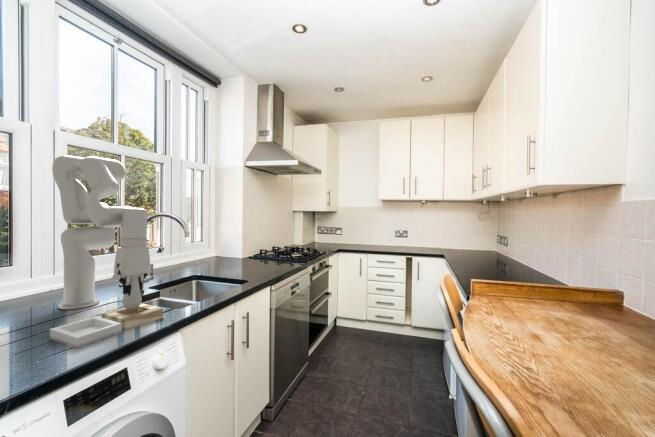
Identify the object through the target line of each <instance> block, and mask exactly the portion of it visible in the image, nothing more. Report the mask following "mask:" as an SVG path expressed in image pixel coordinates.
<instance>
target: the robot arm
mask: <svg viewBox="0 0 655 437" xmlns="http://www.w3.org/2000/svg"><path fill="white" fill-rule="evenodd" d="M51 167H52V168H51V169H52V170H51V171H52V176H53V179H54V182H55V184H56V185H57V187H58V189H59V190H58V191H59V194H60V196H59V197H60V204H61V210H62V216H63V219H64V221H65V222H66V223H67V224H70V225H95V226H76V227H68V228H67V229H66V228H65V230H64V231H63V232H61V235H60V243H61V247H62V254H63V294H62V298H63V301H61V302H60V303H59V304H58V305H57V308H58V309H60V310H67V311H68V310H69V311H70V310H77V309H79V310H80V309H85V308H88V307H92V306H95V305H97V304H99V303H100V298H98V297H95V294H96V293H95V292H96V291H95V290H96V289H95V288H96V287H95V286H96V283H95V282H96V281H95V280H96V261H95V258H94V256H93V255H92V254H91V253H90V252H89V251H90V250H91V251H92V250H100V249H109V248H112V246H114V244H115V243H116V231H115V228H120V246H118V247H117V249H116V253H115V258H114V265H113V275H112V277H111V279H112V280H114V281H117V282H119V283H120V284H121V285H122V294H123V296H124V294H127V293H128V296H130V294H131V285H130V277H131V276H132V275H135V274H136V273H138V274H140V277H138V279H139V287H140V292H141V294H142V291H143V283H144V281H145V280H146V278H147V277H148V275H150V274H152V268H151V267H150V266H151V257H150V256H151V255H150V250H149V246H148V245H147V243H149V242H150V239H149V238H148V237H147V233H148V232H147V231H148V211H147V210H146V208H144V207H143V208H141V207H133V206H118V205H117V206H116V205H108V204H107V203H105V202H102V201H101V200H103V199H107V198H110V197H112V196H114V195H115V194H117V192H118V191H119V189H120V188H119V187H120V186H119V181H122V180H123V179H124V178H125V176H126V168H125V166H124V165H123V163H122V162H120V161H119V160H116V159H111V158H105V157H99V156H86V157H81V156H75V155H60V156H57V157H56V158H55V159H54V160H53V162H52V166H51ZM78 179H85V181H86V183H87V185H88V187H89V189H90V191H89V192H88V190H87V188H86V187H85V185H84V184H83V183H82V182H81V181H80V180H78ZM117 181H118V182H117Z"/></svg>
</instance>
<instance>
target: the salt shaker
mask: <svg viewBox="0 0 655 437" xmlns="http://www.w3.org/2000/svg"><path fill="white" fill-rule="evenodd" d="M138 277H140V274H138V273H136V274H135V275H132V276H131V277H130V285H131V294H130V296H128V293H127V294H124V295H123V296H122V305H123V307H125V308H126V309H133V308H137V307H139V305H140V303H142V300H143V298H142V293H141V292H140V287H139V279H138Z"/></svg>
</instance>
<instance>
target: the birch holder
mask: <svg viewBox="0 0 655 437" xmlns="http://www.w3.org/2000/svg"><path fill="white" fill-rule="evenodd" d="M101 318H105V319H108V320H112V321H116V322H119V323H122V331H128V330H131V329H134V328H137V327H139V326H143V325H145V324H148V323H151V322H154V321H157V320H159V319H162V318H164V308H163V307H161V306H155V305H152V304H146V303H142V302H141V303H140V305H139V307H137V308H133V309H126V308H125V307H124V306H123V307H119V308H116V309H113V310H108V311H106V312H102V313H101Z"/></svg>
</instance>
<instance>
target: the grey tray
mask: <svg viewBox="0 0 655 437" xmlns="http://www.w3.org/2000/svg"><path fill="white" fill-rule="evenodd" d="M122 333H123V330H122V323H119V322H116V321H112V320H108V319H105V318H102V316H97V315H95V316H91V317H87V318H84V319H80V320H77V321H73V322H70V323H67V324H62V325H59V326H56V327H53V328H50V329H49V339H50V340H51V341H55V342H57V343H60V344H63V345H66V346H68V347H71V348H73V349H80V348H83V347H86V346H88V345H89V346H90V344H94V343H97V342H100V341H103V340H106V339H109V338H111V337H114V336H117V335H119V334H122Z"/></svg>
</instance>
